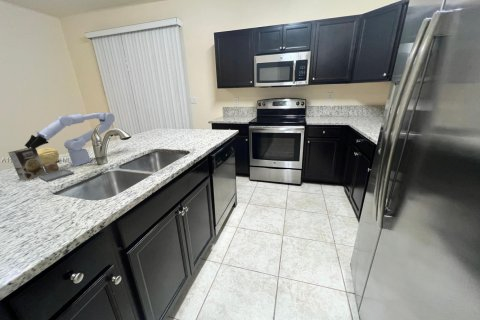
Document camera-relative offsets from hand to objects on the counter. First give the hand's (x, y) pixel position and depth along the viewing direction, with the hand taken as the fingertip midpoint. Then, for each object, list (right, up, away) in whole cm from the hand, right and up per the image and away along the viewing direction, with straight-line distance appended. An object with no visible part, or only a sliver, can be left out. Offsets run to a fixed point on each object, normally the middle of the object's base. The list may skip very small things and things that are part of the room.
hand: (28, 147), depth 111 cm
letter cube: (+5, -14, +10) cm, 18 cm away
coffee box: (-1, -17, +3) cm, 17 cm away
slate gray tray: (+13, -16, +3) cm, 21 cm away
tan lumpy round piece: (-13, -9, +26) cm, 31 cm away
